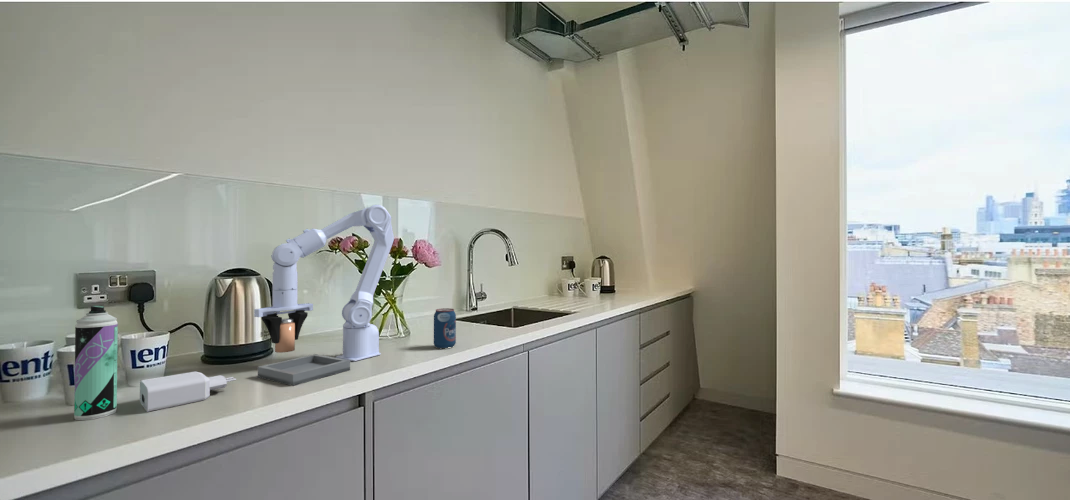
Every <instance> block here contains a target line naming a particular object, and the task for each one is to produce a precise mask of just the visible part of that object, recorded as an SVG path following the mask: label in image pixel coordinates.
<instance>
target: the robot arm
mask: <svg viewBox="0 0 1070 500" xmlns="http://www.w3.org/2000/svg"><path fill="white" fill-rule="evenodd" d="M392 218H393V217H392V216H391V214H390V212H389V211H388V210H387V208H386V207H385V206H384V205H381V204H373V205H371V206H368V207H364V208H362V209H359V210H356V211H353V212H350V213H348V214H347V215H344V216H343V217H341V218H338V219H337V220H336V221H333V222H332V223H330V224H328V225H327V226H324V227H323V228H321V229H318V228H317V229H316V228H310V229H308V228H306V229H304V230H302V232H303V233H301V234H299V235H297V236H295V237H293V238H288V239H286V240H285V243H281V244H280V245H277V246H276V247H274V248H273V251H272V253H271V256H270V257H271V260H272V262H273V264H272V265H273V266H272V270H273V272H272V305H271V306H268V307H267V306H266V307H262V308H254V309H253V310H254V311H253V313H254V314H253V315H254V316H253V317H254V318H261V320H262V322H263V323H264V325H265V327H266V329H267V331H268V333H269V336H270V340H271V343H272V344H275V343H279V339H280V324H281V320H282V319H283V317H281V316H279V315H284V314H287V316H288V318H292V319H293V322H295V341H297V340H299V337H300V332H301V330H302V327H303V324H304V323H305V321H306V319H307V317H308V316H309V315H308V312H311V311H314V303H312V302H311V303H309V302H308V303H298V295H299V294H298V291H299V290H298V288H299V286H298V280H299V279H298V270H297V269H298V267H297V266H298V265H297V264H298V262H299V260H300V258H303V259H304V258H306V257H308V256H310V255H312V254H313V253H315V252H316V251H318V250H320V249H322V248H324V247H325V246H326V243H327V241H328V239H330V238H333V237H335V236H337V235H338V234H341V233H343V232H344V231H346V230H349V229H350V228H353V227H362V226H363V227H364V228H365V229H366V230H367V231H369V234H370V236H371V237H372V238H373V240H374V242H373V244H372V247H371V250H370V251H369V255H368V257H367V260H366V262H365V266H364V268H363V270H362V273H361V275H360V278H359V280H358V283H357V286H356V289H355V291H354V292H353V293H352V295H351V296H350V298H349V301H348V302H347V303H346V304H345V305H344V306H343V308H342V310H341V316H342V318H343V320H344V323H343V324H342V354H341V355H336V356H335V358H340V359H346V360H350V362H356V361H357V362H358V361H360V360H365V359H369V358H372V357H376V356H380V355H381V354H382V353H381V352H380V332H379V329H378V327H377V326H376V325H375V324H373V323H370V321H371V320H372V317H373V312H372V309H373V305H374V294H375V291H376V288H377V286H378V283H379V281H380V279H381V276H382V272H383V270H384V268H385V264H386V263H387V260H388V258H389V257H388V256H389V254H390V251H391V249H392V246H393V243H394V242H395V241H394V240H395V235H394V231H393V225H392Z"/></svg>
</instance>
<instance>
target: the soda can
mask: <svg viewBox="0 0 1070 500" xmlns="http://www.w3.org/2000/svg"><path fill="white" fill-rule="evenodd" d="M456 319H457V315H456V312H455V309H454V308H437V309H435V312H434V314H433V346H435V348H436V347H437V348H436V349H438V348H448V347H453V346H454V347H455V346H456V344H457V342H456V341H457V330H456V329H457V328H456V327H457V320H456ZM454 347H453V348H454Z"/></svg>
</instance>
